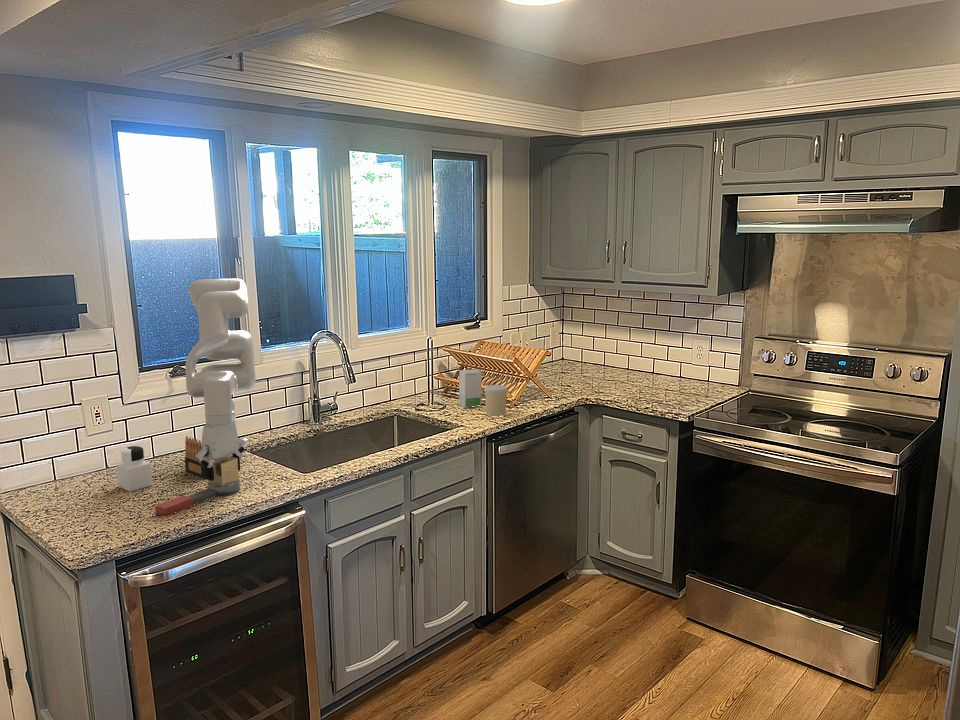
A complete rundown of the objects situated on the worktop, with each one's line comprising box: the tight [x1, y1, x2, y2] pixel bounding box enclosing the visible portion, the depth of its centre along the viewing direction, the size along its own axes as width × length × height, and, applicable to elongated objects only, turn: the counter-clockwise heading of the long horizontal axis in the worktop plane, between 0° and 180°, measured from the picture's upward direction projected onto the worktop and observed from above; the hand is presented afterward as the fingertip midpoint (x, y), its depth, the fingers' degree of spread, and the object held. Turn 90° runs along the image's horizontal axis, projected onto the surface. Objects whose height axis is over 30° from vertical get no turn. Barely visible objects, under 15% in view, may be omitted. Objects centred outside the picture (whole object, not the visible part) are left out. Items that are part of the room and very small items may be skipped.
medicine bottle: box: [116, 445, 153, 492], centre depth 218 cm, size 7×7×12 cm
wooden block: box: [207, 456, 240, 487], centre depth 214 cm, size 6×6×7 cm
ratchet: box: [154, 479, 241, 518], centre depth 208 cm, size 26×9×6 cm, turn 150°
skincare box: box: [458, 369, 483, 409], centre depth 312 cm, size 8×7×16 cm
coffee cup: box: [484, 384, 508, 416], centre depth 297 cm, size 9×9×12 cm
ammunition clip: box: [184, 435, 206, 480], centre depth 227 cm, size 11×2×12 cm, turn 53°
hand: (223, 474), depth 214 cm, fingers open, 9 cm apart
